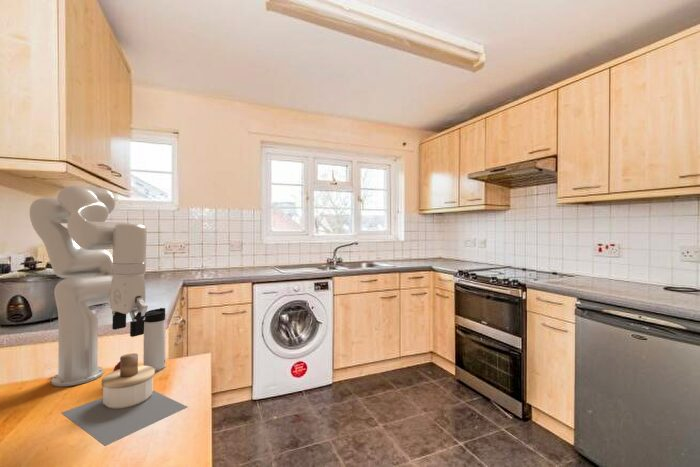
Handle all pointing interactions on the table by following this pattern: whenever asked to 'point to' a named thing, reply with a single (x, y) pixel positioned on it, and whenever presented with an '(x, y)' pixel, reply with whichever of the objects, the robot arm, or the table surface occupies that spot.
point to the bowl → (127, 395)
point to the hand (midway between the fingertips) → (127, 331)
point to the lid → (128, 373)
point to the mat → (121, 417)
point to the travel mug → (155, 339)
